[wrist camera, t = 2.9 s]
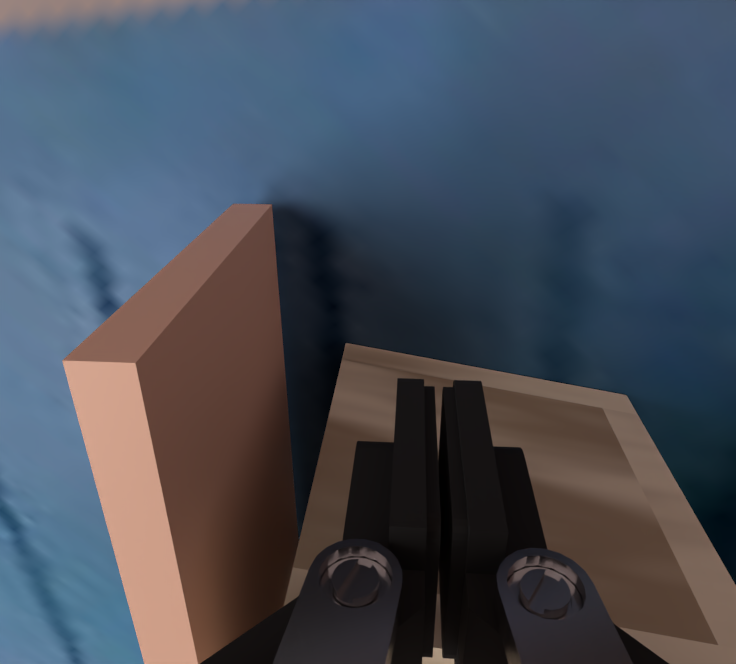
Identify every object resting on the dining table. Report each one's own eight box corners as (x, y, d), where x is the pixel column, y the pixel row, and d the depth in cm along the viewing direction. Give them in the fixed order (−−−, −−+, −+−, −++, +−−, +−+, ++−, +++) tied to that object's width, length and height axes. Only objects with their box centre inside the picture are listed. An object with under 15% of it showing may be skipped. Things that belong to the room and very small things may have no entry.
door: (300, 559, 25) (235, 844, 16) (243, 556, 25) (149, 837, 16) (271, 204, 18) (135, 363, 9) (195, 203, 18) (-9, 358, 10)
